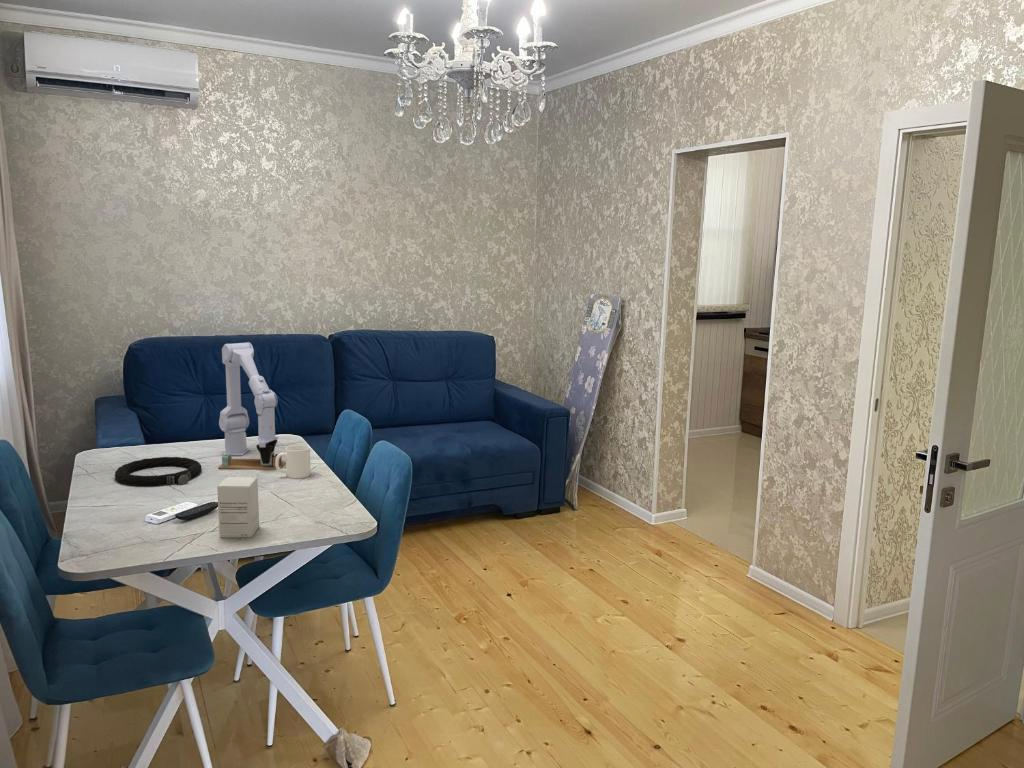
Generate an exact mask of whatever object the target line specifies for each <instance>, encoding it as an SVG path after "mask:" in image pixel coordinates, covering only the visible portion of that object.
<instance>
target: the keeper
mask: <svg viewBox="0 0 1024 768" xmlns="http://www.w3.org/2000/svg"><path fill="white" fill-rule="evenodd" d="M259 455H260V454H259ZM274 456H275V449H274V450H271V454H270V461H269V464H263V462H262V459H261V455H260V456H259V457H260V458H259V459H260V462H261V466H272V459H273V457H274Z"/></svg>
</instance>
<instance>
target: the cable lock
mask: <svg viewBox="0 0 1024 768" xmlns="http://www.w3.org/2000/svg"><path fill="white" fill-rule="evenodd" d="M157 467H178V468H180V467H182V468H186V469H185V470H181V471H177V472H173V473H165V474H159V475H137V474H131V473H133V472H136V471H141V470H144V469H149V468H150V469H151V468H152V469H153V468H157ZM202 468H203V467H202V464H201V463H200V462H199V461H197V460H196V459H192V458H189V457H181V456H162V457H161V456H160V457H152V458H142V459H139V460H134V461H130V462H128V463H125V464H122V465H121V466H119V467H118V468H117V470H115V472H114V473H115V474H114V477H115V480H116V481H118V482H119V483H122V484H124V485H128V486H134V487H135V486H136V487H155V486H163V485H165V486H166V485H167V486H171V485H173V486H174V485H177V486H179V485H180V486H183V485H186V484H188V483H189V481H190V480H191V479H193V478H195V477H198V476H199V474H200V473H202Z"/></svg>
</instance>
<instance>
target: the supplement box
mask: <svg viewBox="0 0 1024 768" xmlns="http://www.w3.org/2000/svg"><path fill="white" fill-rule="evenodd" d="M258 483H259V481H258V477H257V476H226V477H225V478H224V479H223V480H222V481H221V482H220V483H219V484H218V485H217V487H216V488H217V511H218V512H217V514H218V532H219V533H218V534H219V537H218V538H227V539H228V538H252V537H253V536H254V535H255V533H256V532H257V530H258V529H259V527H260V510H259V509H260V508H259V506H260V505H259V484H258Z"/></svg>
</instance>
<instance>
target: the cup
mask: <svg viewBox="0 0 1024 768" xmlns="http://www.w3.org/2000/svg"><path fill="white" fill-rule="evenodd" d="M277 454H278V455H277V457H276V461H275V466H276V469H277V470H276V471H277V472H279V473H282V474H285V475H286V477H287V478H289V479H294V480H295V479H297V480H298V479H300V480H301V479H305V478H308V477H309V476H311V447H310V446H309V445H305V444H294V445H293V444H292V445H288V446H286V447H285V452H280V453H277ZM281 456H282V457H285V468H284V469H283V468H281V469H280V468H279V465H278V462H279V458H280V457H281Z"/></svg>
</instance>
